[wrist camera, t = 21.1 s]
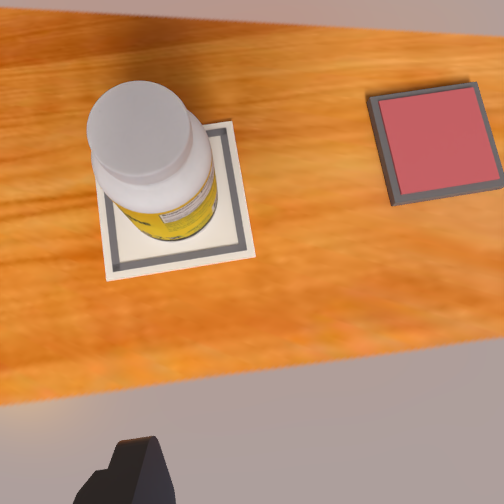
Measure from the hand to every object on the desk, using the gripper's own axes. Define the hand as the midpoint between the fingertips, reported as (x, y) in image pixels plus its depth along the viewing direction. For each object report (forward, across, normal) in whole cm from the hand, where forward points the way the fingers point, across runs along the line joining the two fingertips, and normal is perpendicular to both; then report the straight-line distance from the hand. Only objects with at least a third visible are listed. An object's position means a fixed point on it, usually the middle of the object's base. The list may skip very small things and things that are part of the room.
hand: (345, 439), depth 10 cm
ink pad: (+26, -12, 0) cm, 28 cm away
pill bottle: (+23, +7, 0) cm, 24 cm away
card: (+23, +7, -1) cm, 24 cm away
